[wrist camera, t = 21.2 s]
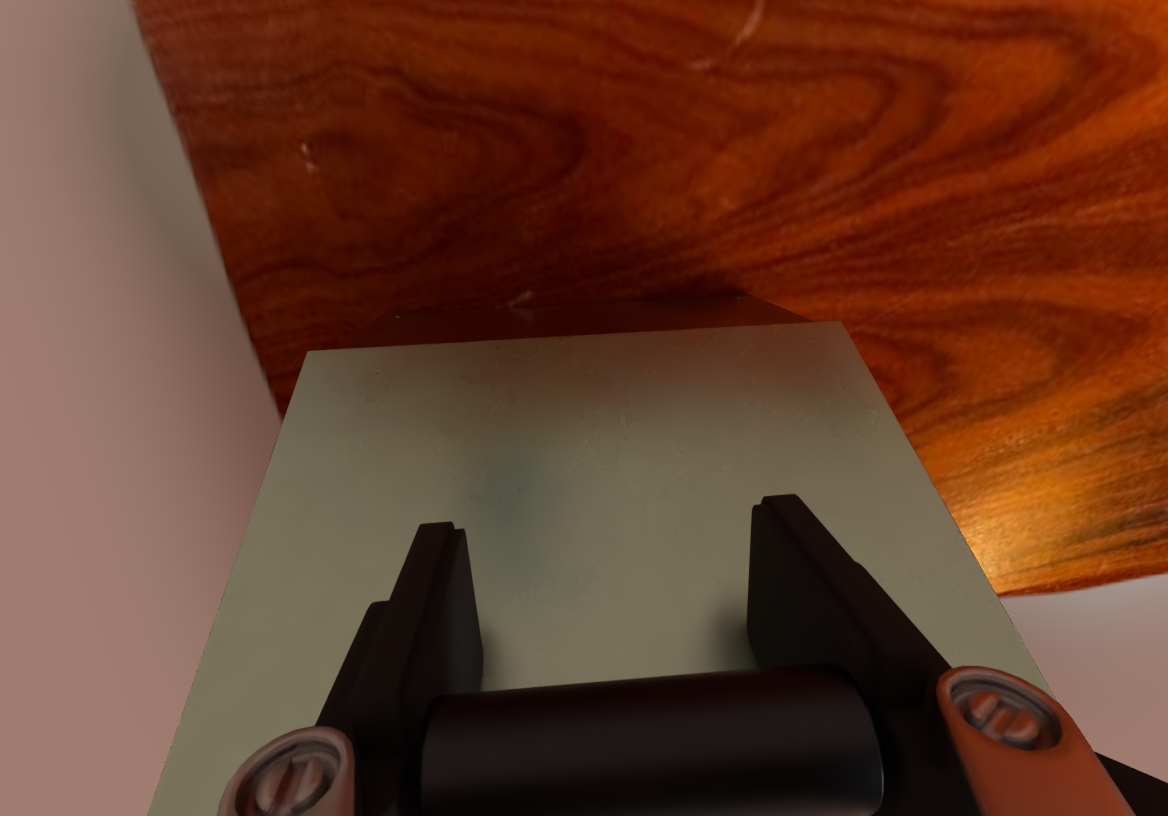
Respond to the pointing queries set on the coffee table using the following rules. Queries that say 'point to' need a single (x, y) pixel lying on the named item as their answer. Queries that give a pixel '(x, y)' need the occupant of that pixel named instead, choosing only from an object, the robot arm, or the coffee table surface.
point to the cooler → (568, 320)
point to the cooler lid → (587, 569)
